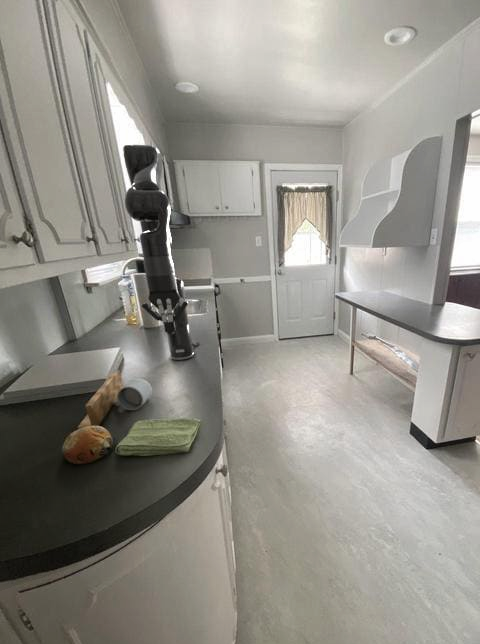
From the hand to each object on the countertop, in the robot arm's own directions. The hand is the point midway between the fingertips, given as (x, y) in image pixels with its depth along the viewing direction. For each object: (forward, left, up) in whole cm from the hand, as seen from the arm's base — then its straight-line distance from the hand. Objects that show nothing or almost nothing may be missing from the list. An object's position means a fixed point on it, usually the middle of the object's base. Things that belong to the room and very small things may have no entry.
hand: (170, 333), depth 90 cm
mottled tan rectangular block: (+2, -23, -21) cm, 31 cm away
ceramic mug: (+3, -14, -21) cm, 26 cm away
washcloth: (+24, -2, -21) cm, 32 cm away
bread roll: (+25, -18, -21) cm, 37 cm away
